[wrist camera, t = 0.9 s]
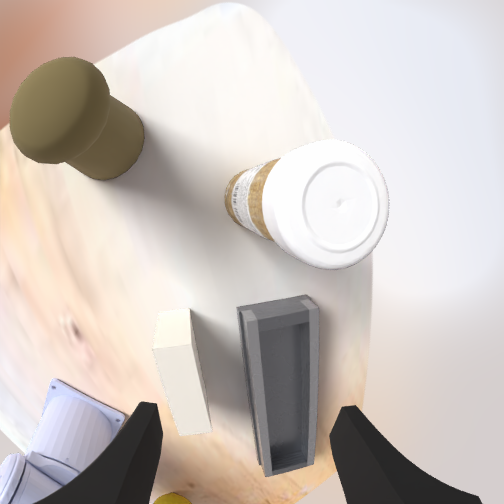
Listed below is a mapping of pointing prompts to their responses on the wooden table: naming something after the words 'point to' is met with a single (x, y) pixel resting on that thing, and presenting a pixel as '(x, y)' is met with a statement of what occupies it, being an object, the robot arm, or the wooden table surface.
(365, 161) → the sprinkles bottle
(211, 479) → the wooden table surface
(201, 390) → the door panel
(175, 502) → the lemon
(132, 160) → the cork
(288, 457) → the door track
